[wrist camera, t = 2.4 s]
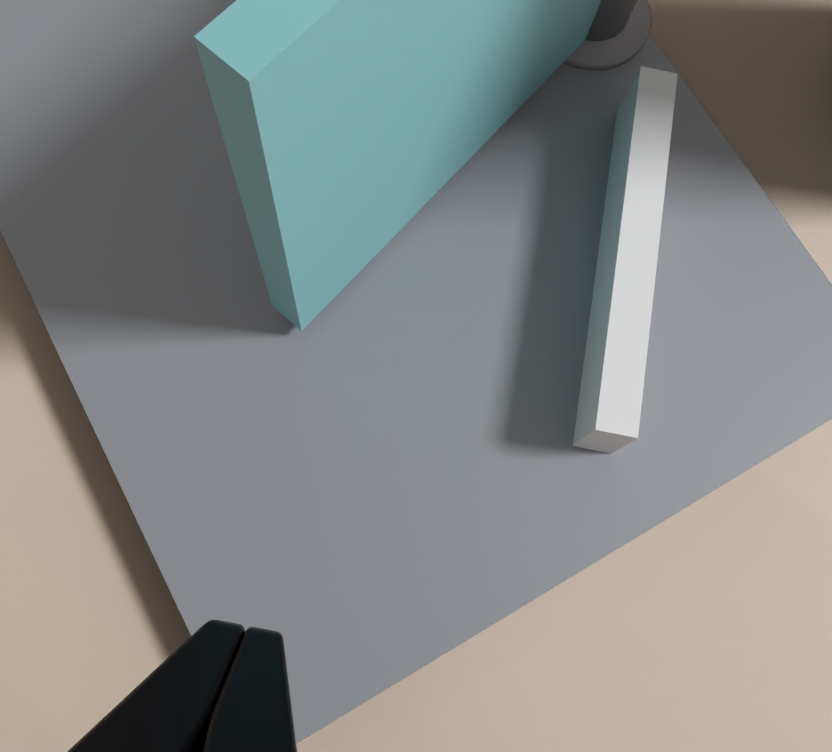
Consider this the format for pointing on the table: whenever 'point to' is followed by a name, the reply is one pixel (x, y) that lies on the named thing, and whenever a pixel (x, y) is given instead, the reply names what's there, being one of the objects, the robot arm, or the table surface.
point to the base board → (402, 342)
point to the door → (369, 115)
